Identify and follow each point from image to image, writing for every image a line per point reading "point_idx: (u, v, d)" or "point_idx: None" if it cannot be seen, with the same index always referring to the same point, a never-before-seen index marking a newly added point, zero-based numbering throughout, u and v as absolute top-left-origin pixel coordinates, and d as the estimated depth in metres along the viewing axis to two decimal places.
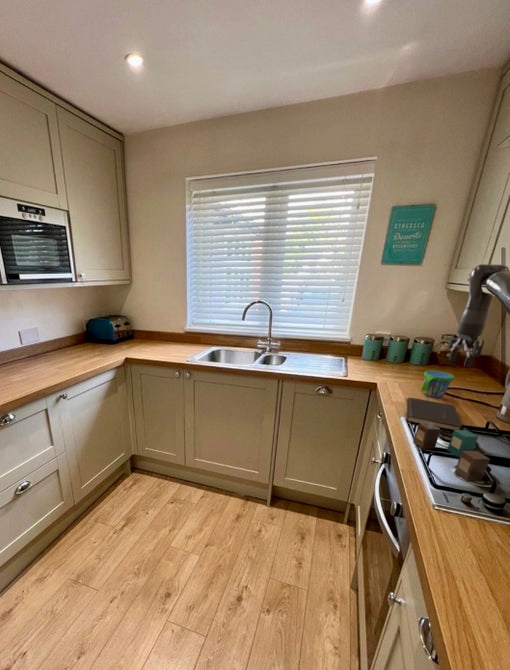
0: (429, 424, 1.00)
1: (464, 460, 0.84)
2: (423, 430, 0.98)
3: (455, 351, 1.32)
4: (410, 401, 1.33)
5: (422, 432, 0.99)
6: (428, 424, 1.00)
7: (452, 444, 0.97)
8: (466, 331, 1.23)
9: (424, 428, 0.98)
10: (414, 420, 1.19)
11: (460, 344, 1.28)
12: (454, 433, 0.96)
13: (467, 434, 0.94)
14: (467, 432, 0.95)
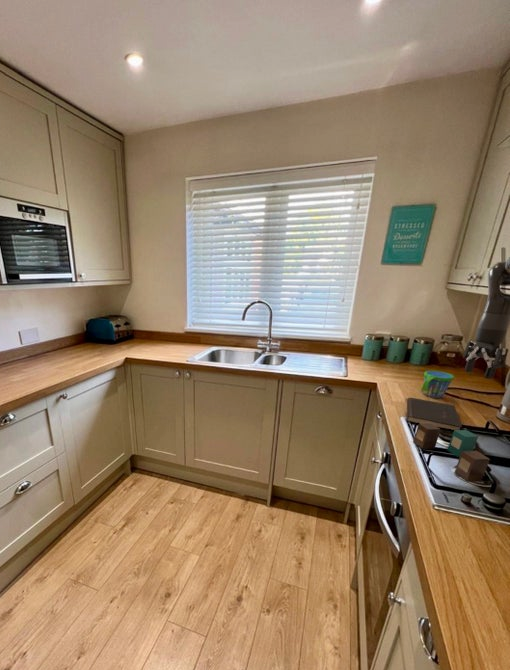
0: (429, 424, 1.00)
1: (464, 460, 0.84)
2: (423, 430, 0.98)
3: (472, 361, 1.16)
4: (410, 401, 1.33)
5: (422, 432, 0.99)
6: (428, 424, 1.00)
7: (452, 444, 0.97)
8: (486, 338, 1.07)
9: (424, 428, 0.98)
10: (414, 420, 1.19)
11: (478, 353, 1.12)
12: (454, 433, 0.96)
13: (467, 434, 0.94)
14: (467, 432, 0.95)
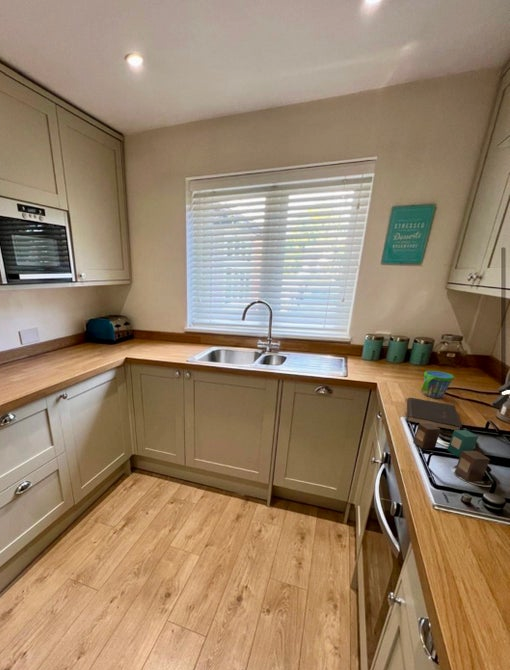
0: (429, 424, 1.00)
1: (464, 460, 0.84)
2: (423, 430, 0.98)
3: (506, 397, 0.97)
4: (410, 401, 1.33)
5: (422, 432, 0.99)
6: (428, 424, 1.00)
7: (452, 444, 0.97)
8: None
9: (424, 428, 0.98)
10: (414, 420, 1.19)
11: None
12: (454, 433, 0.96)
13: (467, 434, 0.94)
14: (467, 432, 0.95)
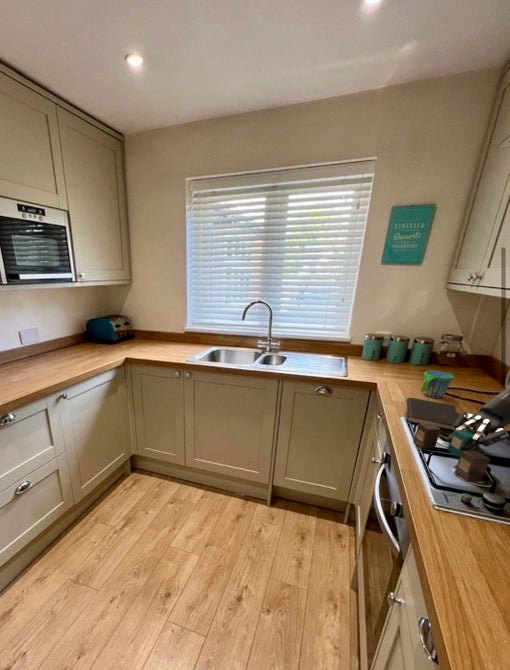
0: (429, 424, 1.00)
1: (464, 460, 0.84)
2: (423, 430, 0.98)
3: None
4: (410, 401, 1.33)
5: (422, 432, 0.99)
6: (428, 424, 1.00)
7: (452, 444, 0.97)
8: (501, 410, 0.90)
9: (424, 428, 0.98)
10: (414, 420, 1.19)
11: (478, 423, 0.94)
12: (454, 433, 0.96)
13: (467, 434, 0.94)
14: (467, 432, 0.95)
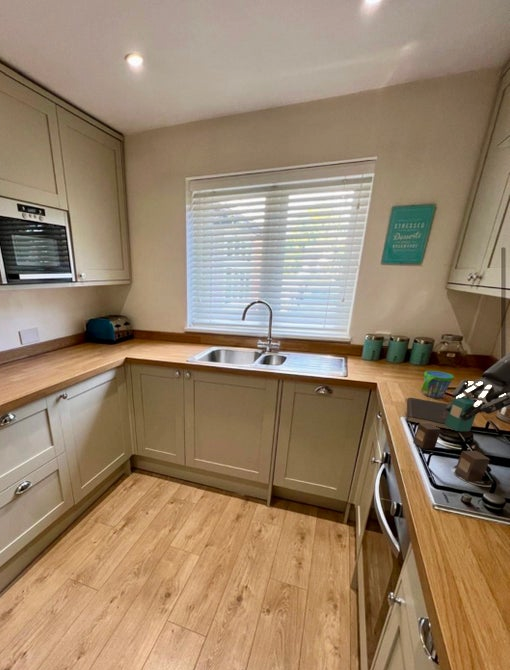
0: (429, 424, 1.00)
1: (464, 460, 0.84)
2: (423, 430, 0.98)
3: None
4: (410, 401, 1.33)
5: (422, 432, 0.99)
6: (428, 424, 1.00)
7: (451, 413, 0.89)
8: (504, 374, 0.83)
9: (424, 428, 0.98)
10: (414, 420, 1.19)
11: (479, 390, 0.87)
12: (454, 401, 0.89)
13: (468, 401, 0.87)
14: (468, 400, 0.88)
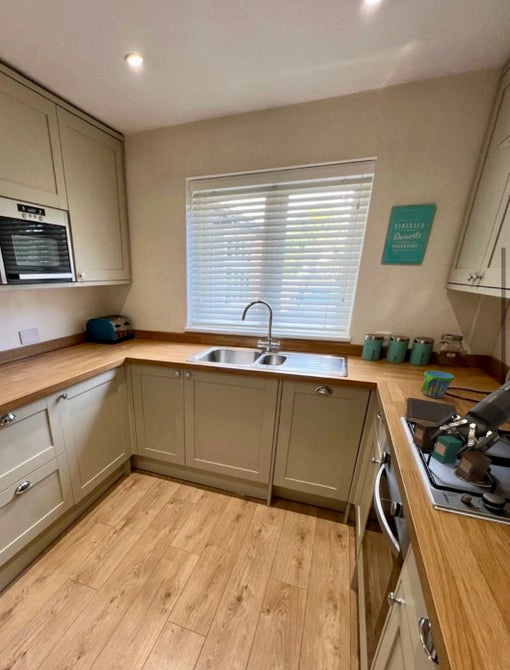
0: (427, 423, 1.00)
1: (466, 460, 0.84)
2: (421, 428, 0.99)
3: (444, 433, 0.95)
4: (410, 401, 1.33)
5: (420, 430, 0.99)
6: (426, 423, 1.00)
7: (436, 450, 0.93)
8: (487, 414, 0.86)
9: (422, 426, 0.99)
10: (414, 420, 1.19)
11: (461, 427, 0.91)
12: (438, 439, 0.92)
13: (451, 440, 0.90)
14: (452, 438, 0.92)
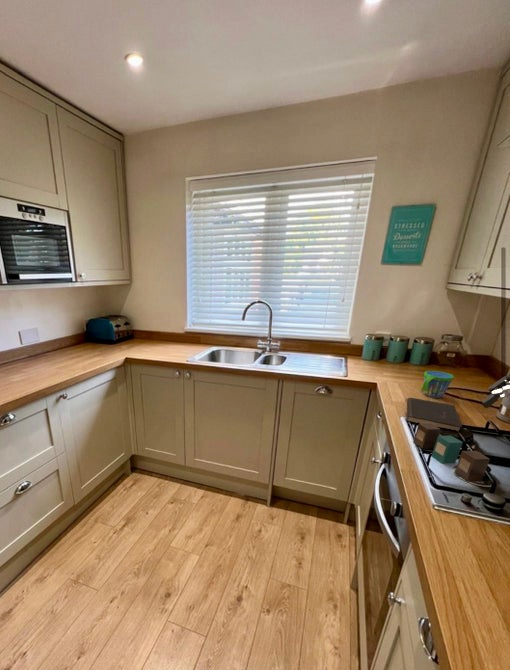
0: (429, 424, 1.00)
1: (464, 460, 0.84)
2: (423, 430, 0.98)
3: (497, 397, 0.92)
4: (410, 401, 1.33)
5: (422, 432, 0.99)
6: (428, 424, 1.00)
7: (436, 450, 0.93)
8: None
9: (424, 428, 0.98)
10: (414, 420, 1.19)
11: None
12: (438, 439, 0.92)
13: (451, 440, 0.90)
14: (451, 438, 0.92)
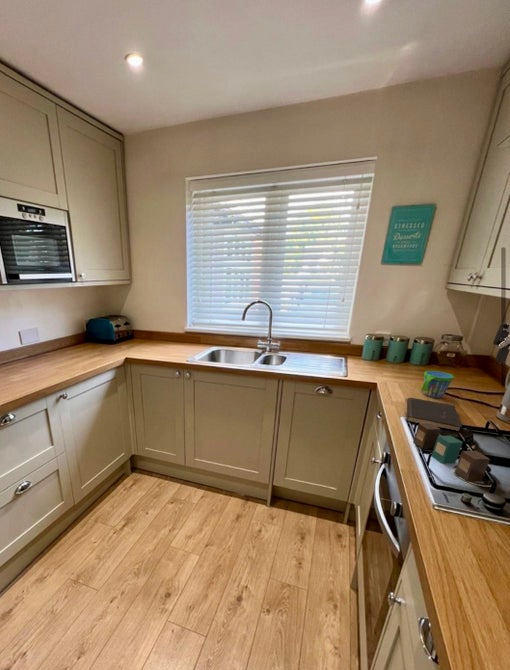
0: (429, 424, 1.00)
1: (464, 460, 0.84)
2: (423, 430, 0.98)
3: (506, 348, 0.89)
4: (410, 401, 1.33)
5: (422, 432, 0.99)
6: (428, 424, 1.00)
7: (436, 450, 0.93)
8: None
9: (424, 428, 0.98)
10: (414, 420, 1.19)
11: None
12: (438, 439, 0.92)
13: (451, 440, 0.90)
14: (451, 438, 0.92)
